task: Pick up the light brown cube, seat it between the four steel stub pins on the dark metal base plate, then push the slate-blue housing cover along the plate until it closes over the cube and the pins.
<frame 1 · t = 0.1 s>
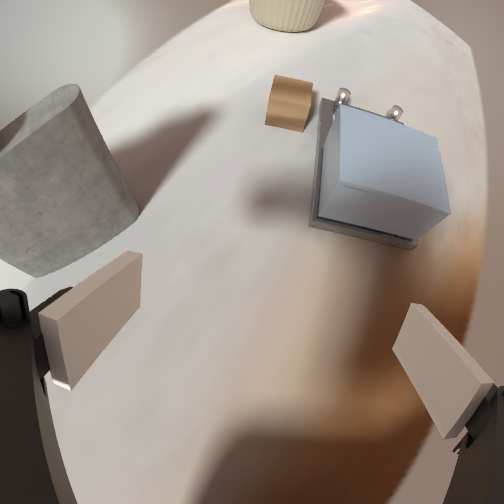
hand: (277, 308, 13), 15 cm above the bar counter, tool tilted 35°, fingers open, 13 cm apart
housing base: (364, 168, 35), on the bar counter
light brown cube: (286, 116, 37), on the bar counter
housing cover: (382, 173, 29), point 5 cm above the bar counter, slide at 0.0 cm
hip flask: (80, 243, 30), on the bar counter
canister: (282, 22, 48), on the bar counter
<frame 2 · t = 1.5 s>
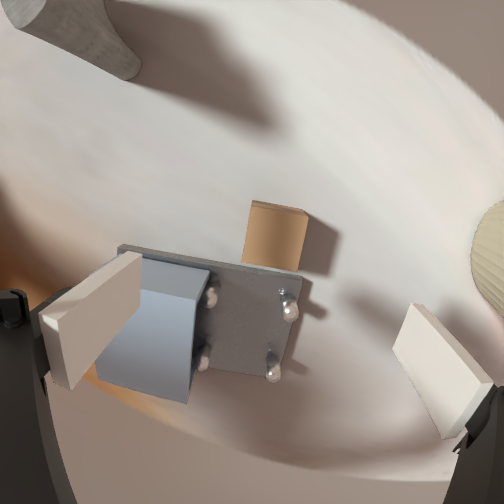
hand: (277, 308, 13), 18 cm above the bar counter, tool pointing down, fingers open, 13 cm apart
housing base: (201, 313, 33), on the bar counter
light brown cube: (272, 228, 31), on the bar counter
housing cover: (149, 328, 28), point 5 cm above the bar counter, slide at 0.0 cm
hip flask: (106, 36, 25), on the bar counter
canister: (496, 245, 30), on the bar counter
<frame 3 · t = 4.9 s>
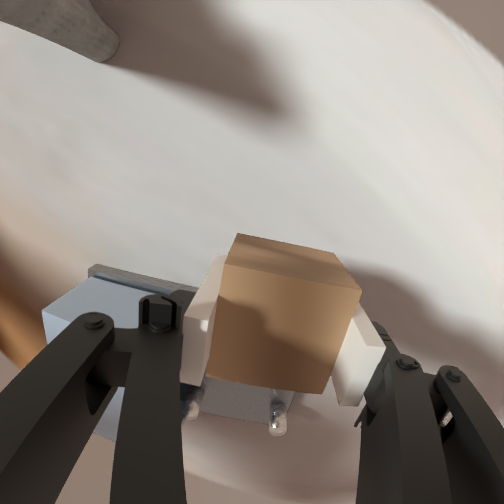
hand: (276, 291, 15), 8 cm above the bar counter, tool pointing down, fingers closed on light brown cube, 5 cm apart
housing base: (192, 350, 26), on the bar counter
light brown cube: (275, 288, 16), point 8 cm above the bar counter, touching gripper
housing cover: (124, 371, 21), point 5 cm above the bar counter, slide at 0.0 cm
hip flask: (83, 15, 18), on the bar counter
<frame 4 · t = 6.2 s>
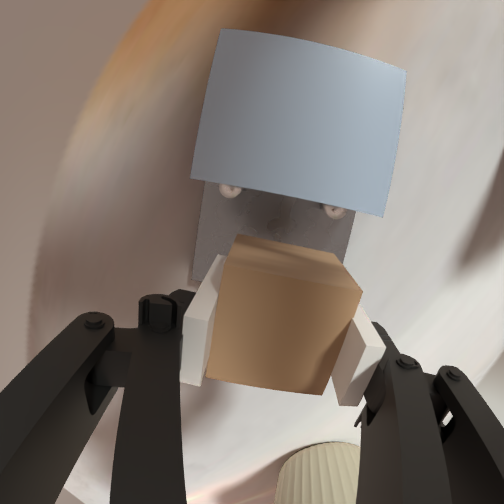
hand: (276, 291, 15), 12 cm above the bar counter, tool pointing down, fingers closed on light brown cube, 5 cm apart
housing base: (283, 181, 26), on the bar counter
light brown cube: (275, 289, 16), point 12 cm above the bar counter, touching gripper
housing cover: (299, 122, 19), point 5 cm above the bar counter, slide at 0.0 cm
canister: (323, 459, 36), on the bar counter
when the fingers open (2 cm above the bar counter, at t = 8.0 s): light brown cube stays where it is, resting on housing base.
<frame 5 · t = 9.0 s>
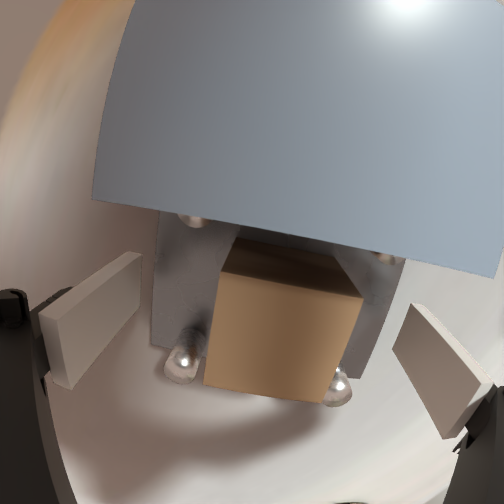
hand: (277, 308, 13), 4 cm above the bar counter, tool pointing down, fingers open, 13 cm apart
housing base: (294, 191, 15), on the bar counter
light brown cube: (275, 293, 15), point 1 cm above the bar counter, touching housing base
housing cover: (330, 82, 9), point 5 cm above the bar counter, slide at 0.0 cm
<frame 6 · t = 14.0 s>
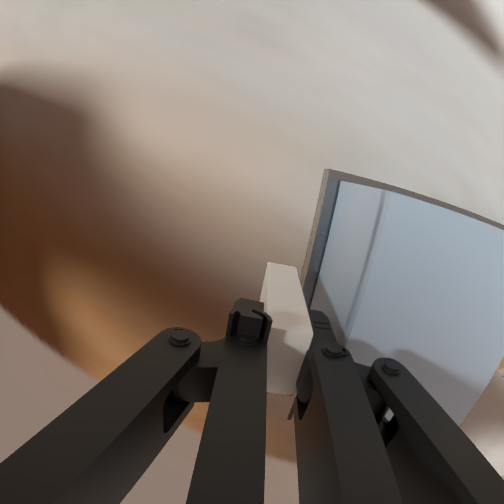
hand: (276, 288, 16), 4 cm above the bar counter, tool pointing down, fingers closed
housing base: (429, 292, 19), on the bar counter
housing cover: (413, 320, 14), point 5 cm above the bar counter, slide at 0.2 cm, touching gripper
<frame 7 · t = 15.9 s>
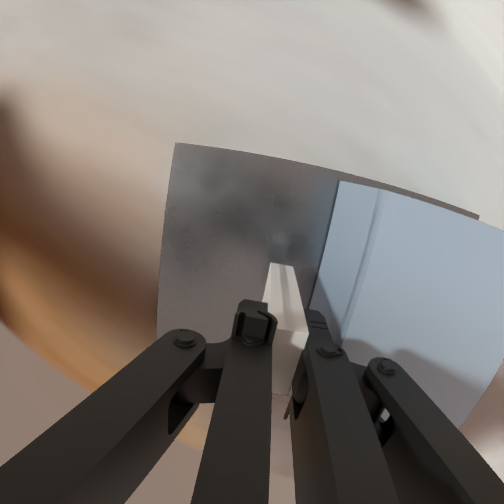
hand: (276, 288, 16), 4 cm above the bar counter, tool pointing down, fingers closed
housing base: (321, 273, 19), on the bar counter
housing cover: (412, 321, 14), point 5 cm above the bar counter, slide at 8.9 cm, touching gripper, housing base
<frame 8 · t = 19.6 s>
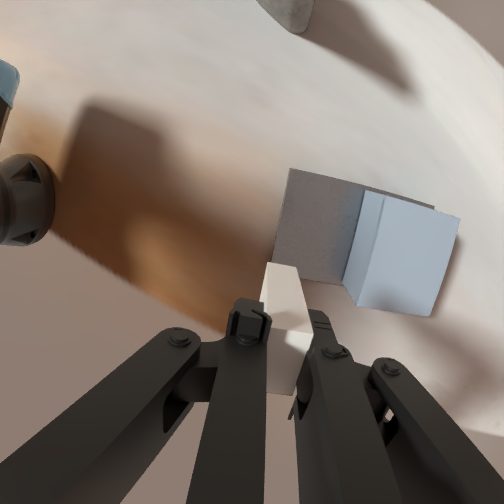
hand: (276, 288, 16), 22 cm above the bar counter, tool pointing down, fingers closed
housing base: (354, 235, 37), on the bar counter
housing cover: (400, 252, 32), point 5 cm above the bar counter, slide at 8.9 cm
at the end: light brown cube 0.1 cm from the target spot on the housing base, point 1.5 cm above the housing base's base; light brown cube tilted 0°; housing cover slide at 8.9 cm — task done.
